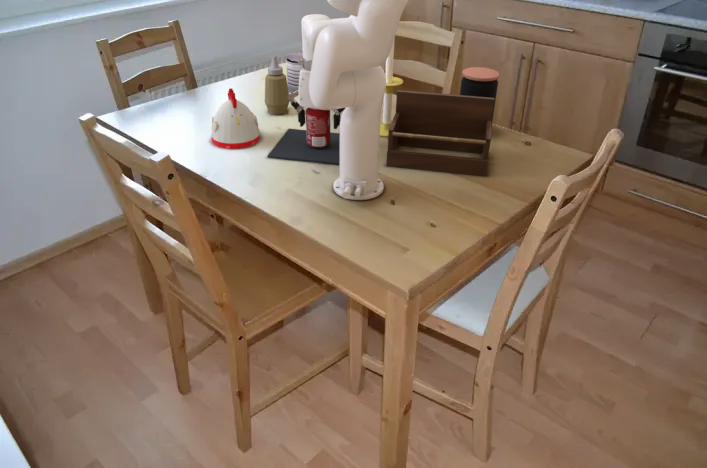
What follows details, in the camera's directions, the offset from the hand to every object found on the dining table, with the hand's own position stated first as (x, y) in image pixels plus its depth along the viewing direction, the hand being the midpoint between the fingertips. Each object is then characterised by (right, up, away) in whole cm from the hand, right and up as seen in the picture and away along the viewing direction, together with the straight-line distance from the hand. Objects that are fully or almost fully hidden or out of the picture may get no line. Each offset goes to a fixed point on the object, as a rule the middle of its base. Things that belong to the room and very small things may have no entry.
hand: (319, 126), depth 163 cm
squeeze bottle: (-15, +10, +28) cm, 33 cm away
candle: (+20, +1, +16) cm, 25 cm away
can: (-9, +21, +46) cm, 52 cm away
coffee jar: (+46, +1, +16) cm, 49 cm away
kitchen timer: (-25, -2, +9) cm, 27 cm away
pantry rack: (+33, -9, -1) cm, 34 cm away
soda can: (-1, -5, +4) cm, 6 cm away
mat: (0, -5, +4) cm, 7 cm away
